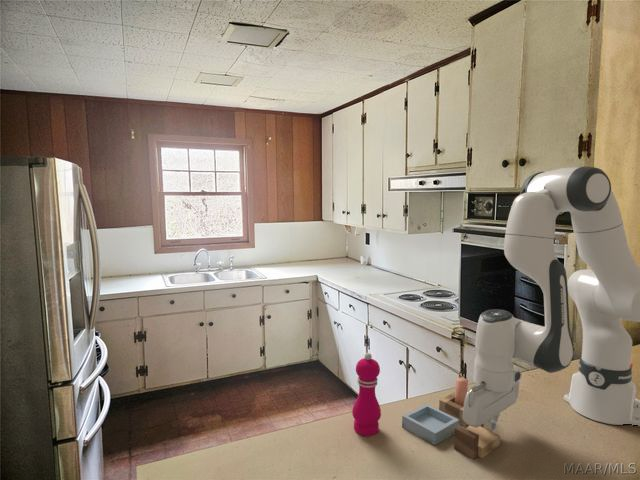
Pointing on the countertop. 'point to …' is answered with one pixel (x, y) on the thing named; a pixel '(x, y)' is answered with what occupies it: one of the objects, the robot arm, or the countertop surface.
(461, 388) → the dowel
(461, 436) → the block
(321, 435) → the countertop surface
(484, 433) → the tan wooden cuboid
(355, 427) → the pepper mill
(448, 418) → the tray
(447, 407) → the socket block
